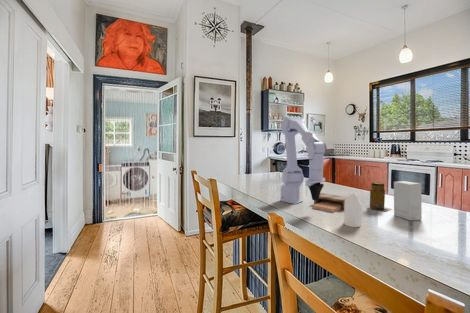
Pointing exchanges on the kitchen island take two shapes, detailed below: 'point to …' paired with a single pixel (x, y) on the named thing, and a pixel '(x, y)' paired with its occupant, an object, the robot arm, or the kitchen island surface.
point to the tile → (328, 206)
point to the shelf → (331, 198)
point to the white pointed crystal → (352, 211)
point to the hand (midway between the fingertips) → (315, 200)
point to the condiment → (377, 197)
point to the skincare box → (407, 200)
